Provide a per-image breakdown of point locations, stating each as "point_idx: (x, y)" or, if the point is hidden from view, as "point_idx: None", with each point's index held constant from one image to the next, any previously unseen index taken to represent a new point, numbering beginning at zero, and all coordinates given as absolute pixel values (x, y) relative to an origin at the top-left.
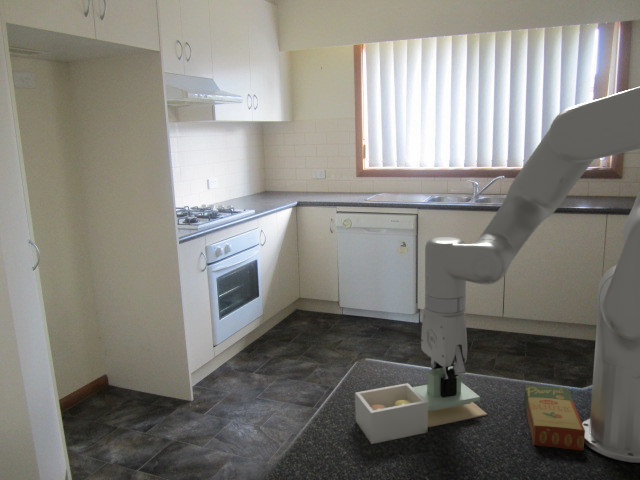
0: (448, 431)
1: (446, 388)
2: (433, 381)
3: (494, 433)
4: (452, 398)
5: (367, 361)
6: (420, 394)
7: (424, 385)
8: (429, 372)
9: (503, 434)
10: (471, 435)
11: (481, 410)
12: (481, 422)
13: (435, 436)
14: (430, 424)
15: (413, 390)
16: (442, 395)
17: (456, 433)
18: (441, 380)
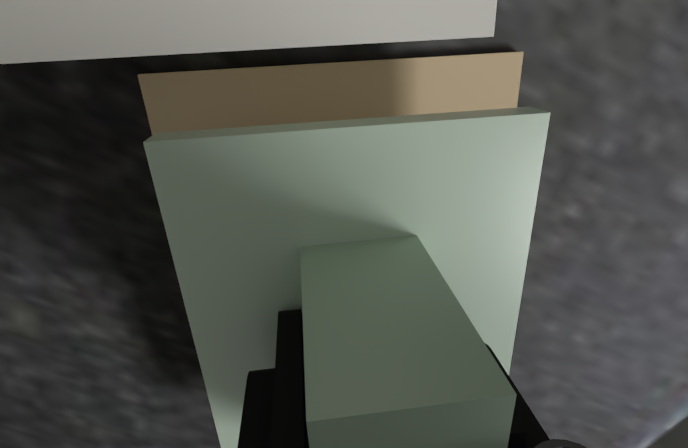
0: (81, 200)
1: (263, 398)
2: (309, 351)
3: (46, 404)
4: (249, 367)
5: None
6: (391, 162)
7: (521, 254)
8: (443, 400)
9: (34, 433)
10: (27, 302)
11: None
12: (163, 389)
13: (16, 90)
14: (157, 116)
15: (244, 14)
16: (278, 322)
17: (53, 235)
18: (285, 436)
